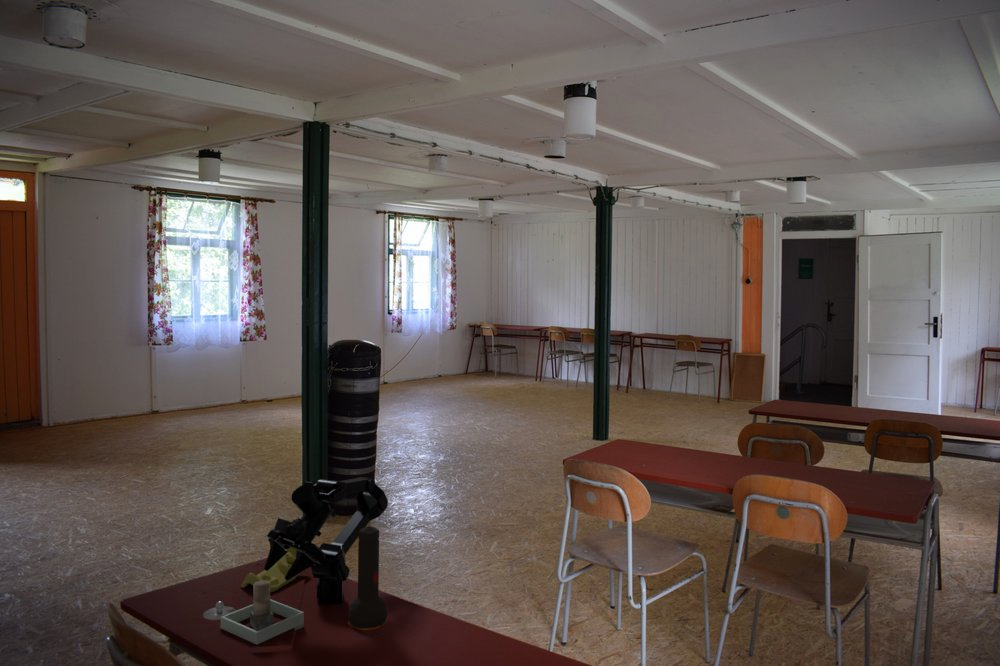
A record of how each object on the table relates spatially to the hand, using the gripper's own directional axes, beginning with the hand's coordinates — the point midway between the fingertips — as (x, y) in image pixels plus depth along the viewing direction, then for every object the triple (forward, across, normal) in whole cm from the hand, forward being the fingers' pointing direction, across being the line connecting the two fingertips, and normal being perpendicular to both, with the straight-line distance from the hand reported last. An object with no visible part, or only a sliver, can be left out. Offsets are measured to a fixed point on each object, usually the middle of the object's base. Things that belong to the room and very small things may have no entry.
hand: (275, 574), depth 184 cm
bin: (+12, 0, +6) cm, 13 cm away
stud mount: (+14, -14, +4) cm, 21 cm away
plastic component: (-2, -23, +21) cm, 31 cm away
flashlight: (-3, +16, +21) cm, 27 cm away
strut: (+11, 0, +6) cm, 13 cm away
